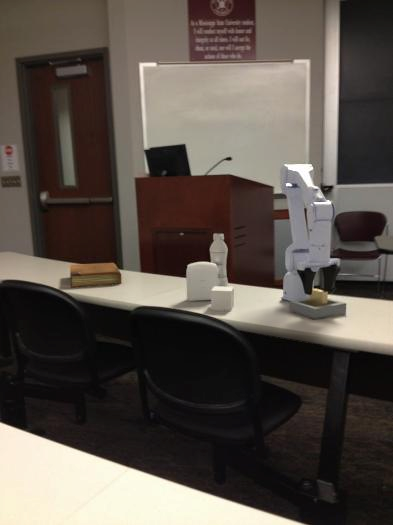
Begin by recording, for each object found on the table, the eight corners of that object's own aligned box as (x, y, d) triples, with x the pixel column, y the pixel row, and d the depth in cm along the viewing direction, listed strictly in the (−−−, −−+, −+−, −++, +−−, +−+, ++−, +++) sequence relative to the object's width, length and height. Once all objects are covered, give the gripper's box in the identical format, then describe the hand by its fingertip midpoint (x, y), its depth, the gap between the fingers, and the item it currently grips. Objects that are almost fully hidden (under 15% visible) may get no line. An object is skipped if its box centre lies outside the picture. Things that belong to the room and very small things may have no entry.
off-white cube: (211, 310, 131) (210, 290, 130) (214, 305, 136) (214, 286, 135) (231, 311, 129) (231, 291, 128) (233, 306, 135) (233, 286, 134)
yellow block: (319, 313, 123) (320, 292, 122) (307, 309, 127) (307, 289, 126) (328, 312, 125) (329, 291, 124) (316, 308, 129) (316, 288, 128)
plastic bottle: (206, 291, 155) (205, 234, 152) (214, 287, 161) (214, 233, 158) (223, 293, 152) (222, 235, 149) (230, 289, 158) (230, 233, 155)
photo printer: (187, 301, 141) (186, 263, 139) (186, 298, 145) (185, 261, 143) (219, 300, 142) (219, 262, 140) (217, 297, 146) (217, 260, 144)
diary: (121, 286, 169) (121, 271, 168) (71, 289, 164) (70, 274, 163) (116, 275, 191) (115, 262, 190) (71, 277, 186) (70, 264, 185)
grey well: (289, 311, 128) (289, 301, 127) (319, 305, 134) (320, 296, 133) (314, 319, 119) (315, 309, 119) (345, 313, 125) (346, 303, 124)
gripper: (310, 248, 116) (309, 298, 118) (349, 244, 123) (347, 292, 126) (292, 245, 122) (291, 293, 125) (330, 242, 129) (328, 287, 132)
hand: (318, 292), depth 125 cm, fingers open, 7 cm apart
